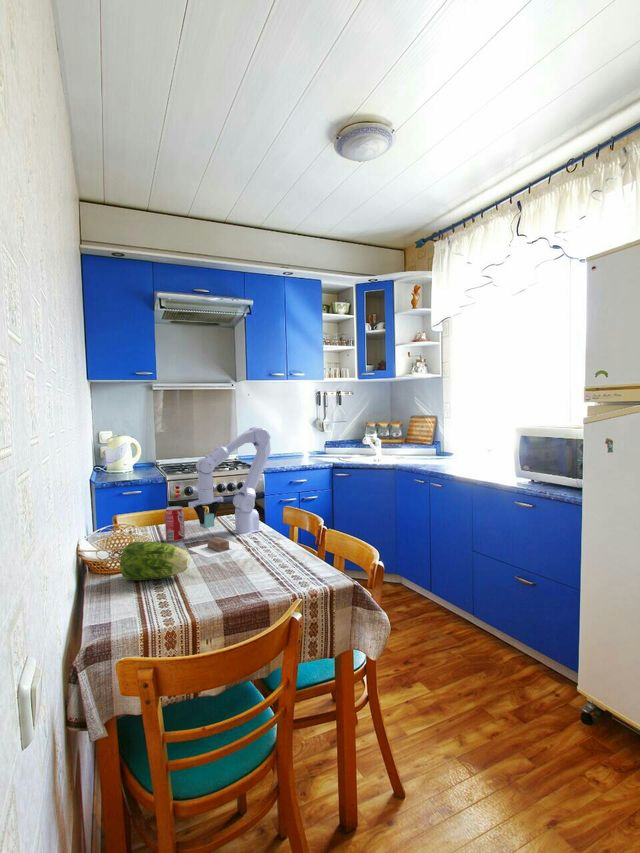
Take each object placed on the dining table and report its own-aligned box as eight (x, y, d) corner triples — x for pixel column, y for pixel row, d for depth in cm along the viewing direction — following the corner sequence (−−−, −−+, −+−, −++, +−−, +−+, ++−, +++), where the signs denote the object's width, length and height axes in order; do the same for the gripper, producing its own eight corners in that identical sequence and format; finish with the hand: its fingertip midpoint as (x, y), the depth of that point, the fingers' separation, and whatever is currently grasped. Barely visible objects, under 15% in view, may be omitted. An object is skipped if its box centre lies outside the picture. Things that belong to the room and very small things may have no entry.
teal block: (208, 524, 184) (208, 512, 184) (214, 526, 181) (213, 513, 181) (200, 526, 181) (199, 514, 181) (205, 528, 178) (204, 515, 178)
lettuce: (185, 585, 134) (183, 547, 133) (114, 586, 134) (113, 548, 133) (195, 571, 145) (194, 536, 145) (131, 572, 145) (129, 537, 145)
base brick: (217, 544, 171) (216, 536, 170) (229, 549, 165) (228, 541, 165) (207, 547, 168) (207, 539, 168) (219, 551, 162) (219, 543, 162)
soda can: (181, 543, 176) (180, 509, 175) (163, 543, 176) (162, 509, 175) (187, 537, 183) (186, 505, 182) (169, 537, 183) (168, 505, 182)
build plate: (224, 540, 178) (224, 539, 178) (246, 548, 168) (246, 546, 168) (187, 550, 166) (187, 548, 166) (207, 559, 156) (207, 557, 156)
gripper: (216, 484, 188) (217, 517, 189) (184, 490, 178) (185, 524, 179) (225, 486, 183) (227, 520, 184) (193, 492, 173) (194, 527, 174)
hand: (207, 522), depth 181 cm, fingers closed on teal block, 4 cm apart
